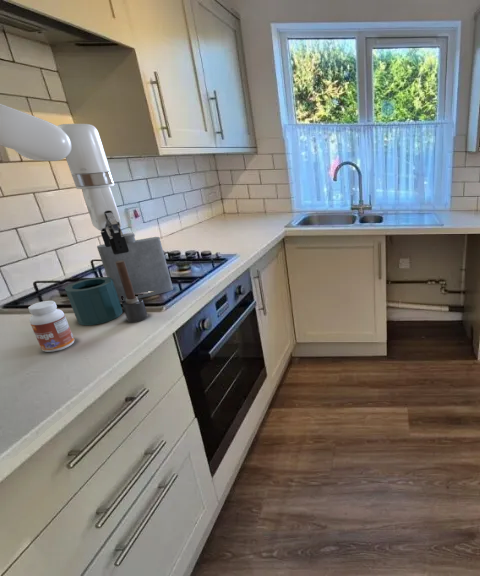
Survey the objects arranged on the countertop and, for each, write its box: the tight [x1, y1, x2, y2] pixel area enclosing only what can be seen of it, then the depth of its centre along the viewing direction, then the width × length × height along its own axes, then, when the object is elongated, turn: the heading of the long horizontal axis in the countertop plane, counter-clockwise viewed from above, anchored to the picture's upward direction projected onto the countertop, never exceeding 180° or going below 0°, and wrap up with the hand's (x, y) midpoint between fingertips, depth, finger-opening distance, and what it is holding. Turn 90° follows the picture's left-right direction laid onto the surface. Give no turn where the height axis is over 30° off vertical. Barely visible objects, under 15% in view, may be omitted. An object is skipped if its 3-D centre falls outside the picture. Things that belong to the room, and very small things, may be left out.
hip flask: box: [96, 232, 174, 303], centre depth 111 cm, size 16×4×20 cm, turn 126°
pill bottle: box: [27, 300, 75, 353], centre depth 85 cm, size 6×6×11 cm
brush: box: [115, 261, 149, 323], centre depth 97 cm, size 5×5×17 cm
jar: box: [64, 276, 124, 326], centre depth 100 cm, size 10×10×10 cm
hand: (117, 249), depth 93 cm, fingers open, 9 cm apart
